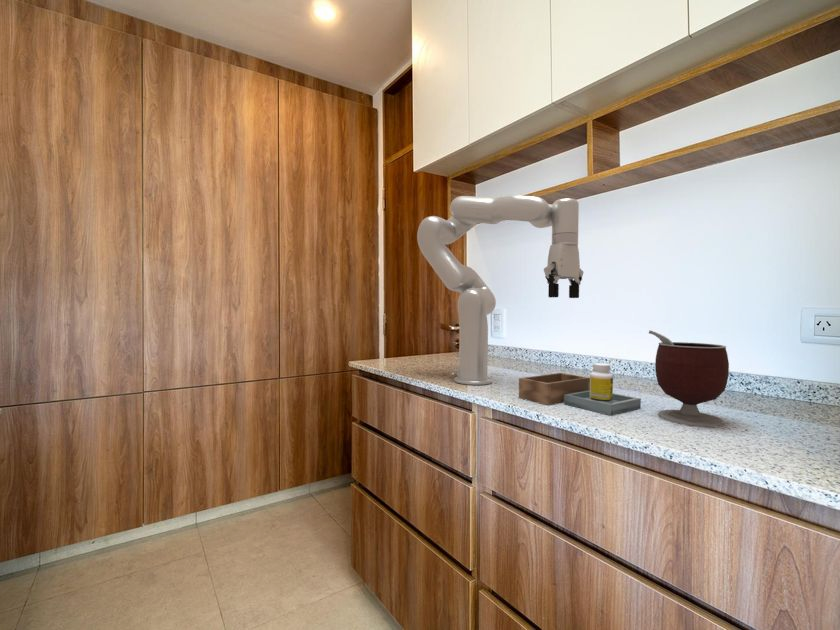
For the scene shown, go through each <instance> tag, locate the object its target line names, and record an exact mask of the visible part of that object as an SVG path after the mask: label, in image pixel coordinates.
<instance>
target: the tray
mask: <svg viewBox="0 0 840 630" xmlns="http://www.w3.org/2000/svg"><path fill="white" fill-rule="evenodd" d="M641 403H642V398H639V397H636V396H635V397H634V396H630V395H625V394H624V395H623V394H618V393H615V392H613V399H612V403H610V404H609V403H604V402H600V401H595V400H591V399H590V390H588V391H583V392H577V393H571V394H566V395H564V402H563V405H565V406H570V407H574V408H578V409H582V410H586V411H590V412H595V413H599V414H602V415H603V414H604V415H606V416H611V417H612V416H615V415H618V414H624V413H627V412H632V411H636V410H640V409H641Z"/></svg>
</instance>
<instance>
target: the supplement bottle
mask: <svg viewBox="0 0 840 630" xmlns="http://www.w3.org/2000/svg"><path fill="white" fill-rule="evenodd" d="M592 368H593V371H592V372H591V373H590V374H589V378H590V399H591V400H595V401H600V402H604V403H609V404H610V403H612V399H613V393H614V389H613V387H614V386H613V385H614V383H613V382H614V375H613V374H612V373H611V372H610V371H611V364H609V363H601V362H598V363H597V362H596V363H593V366H592Z"/></svg>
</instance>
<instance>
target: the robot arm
mask: <svg viewBox="0 0 840 630" xmlns="http://www.w3.org/2000/svg"><path fill="white" fill-rule="evenodd" d="M449 206H450V207H449V211H450V214H451V216H450V217H449V218H448V219H447V220H446V219H444V218H443V217H441V216H440V217H439V216H436V215H431V216H430V215H429V216H427V217H425V218H424V219H422V221H421V222H420V224H419V226H418V229H417V233H416V237H417V238H416V239H417V240H416V241H417V245H418V247H419V250H420V252H421V254H422V255H423V256H424V259H426V261H427V262H428V263H429V265H430V267H432V269H433V271H434V272H435V273H436V275H437V277H439V279H440V280H441V281H442V283H443V284H444V286H445V287H446V288H447V289H448V290H450V291H451V292H456V293H457V292H458V293H459V294H460V295H459V296H458V299H457V313H458V323H459V325H458V326H459V340H458V341H459V346H458V347H459V348H458V349H459V351H458V352H459V353H458V354H459V355H458V357H459V358H458V359H459V360H458V366H457V368H454V369H453V371H454V372H453V373H455V374H457V375H456V376H455V377H454V382H455V383H456V384H457V383H458V384H462V385H471V386H474V385H475V386H482V385H489V384H492V382H493V379H492V378H491V376H488V371H489V370H488V368H489V367H488V366H489V364H488V362H489V361H488V359H489V324H488V323H489V322H488V316H487V315H489V314H491V313H493V311H494V310H495V308H496V304H497V303H496V302H497V300H496V297H495V295H494V293H493V292H492V290H491V289H490V287H488V285H487V284H486V283H485V281H484V280H483V279H482V278H481V276H480V275H479V274H478V273H477V272H476V270H475V269H473V268H472V267H470V266H467V265H464V264H462V262H460V261H459V260H458V259H457V258H456V256H455V255H454V254H453V253H452V251H451V250H450V249H449V248H448V246H446V245H450V244H453V243H454V242H456V241H458V240H459V239H460V238H461V237H463V236H464V235H465V234H466V233H468V232H469V231H470V230H472V229H473V228H474V227H475V226H476V225H477V224H485V225H497V224H499V223H500V222H503V221H518V222H527V223H528V222H529V224H531V225H532V226H533V227H535V228H537V229H538V228H539V229H543V228H549V227H551V244H550V247H549V250H548V256H547V265H546V267H544V268H543V273H544V275H545V279H546V283H547V285H548V295H547V296H548V298H559V296H560V295H559V294H560V293H559V292H560V291H559V289H560V287H559V286H560V285H559V283H558V282H559V280H568V282H569V284H570V285H568V286H569V287H568V298H569V299H579V297H580V285H581V282H582V281H583V275H584V271H583V270H582V269H581V267H580V265H581V264H580V252H579V251H580V250H579V215H580V214H579V213H580V212H579V210H580V209H579V201H578V200H577V199H576V198H569V197H567V198H566V197H565V198H559V199H557V200H555V201H554V202H553V203H552V204H550V203H548V202H547V200H545V199H544V198H542V197H540V196H533V195H532V196H531V195H507V196H500V197H499V196H498V197H497V196H496V197H495V196H494V197H491V196H475V195H474V196H473V195H472V196H471V195H460V196H459V195H458V196H456V197H454V199H453V200H452V201H451V203H450V205H449Z"/></svg>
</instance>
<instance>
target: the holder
mask: <svg viewBox="0 0 840 630" xmlns="http://www.w3.org/2000/svg"><path fill="white" fill-rule="evenodd" d="M588 390H590V377H587V376H580V375H575V374H569V373H563V372H557V373H556V372H555V373H551V374H541V375H533V376H527V377H519V378H518V398H519V399H521V398H522V400H525V399H527V400H526V401H529V400H530V402H533V401H534V403H537V402H538V404H541V403H542V405H545V406H551V404H552V405H556V404H561V403H564V395H566V394H571V393H577V392H583V391H588Z"/></svg>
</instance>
